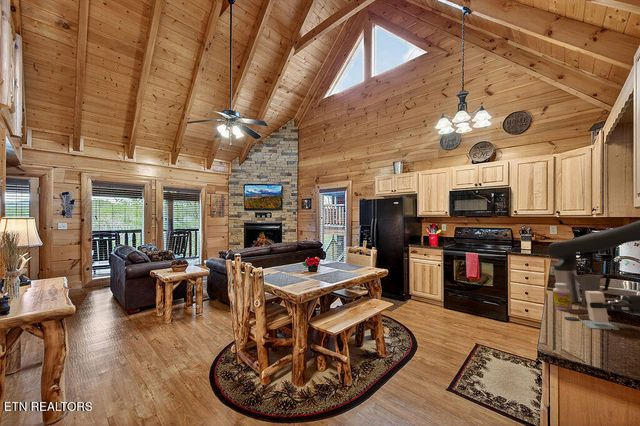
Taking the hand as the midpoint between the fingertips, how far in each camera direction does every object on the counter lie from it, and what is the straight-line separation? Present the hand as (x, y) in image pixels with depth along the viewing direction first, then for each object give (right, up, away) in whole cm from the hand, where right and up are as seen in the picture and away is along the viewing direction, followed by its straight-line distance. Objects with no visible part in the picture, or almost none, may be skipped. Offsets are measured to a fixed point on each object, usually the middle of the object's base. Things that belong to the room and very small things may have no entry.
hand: (587, 303), depth 118 cm
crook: (+18, -9, +18) cm, 27 cm away
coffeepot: (+29, -9, +25) cm, 39 cm away
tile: (+3, -9, -2) cm, 9 cm away
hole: (0, -10, +8) cm, 13 cm away
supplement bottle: (+10, -11, +23) cm, 27 cm away
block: (+3, -7, -2) cm, 8 cm away
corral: (+11, -9, +10) cm, 17 cm away
